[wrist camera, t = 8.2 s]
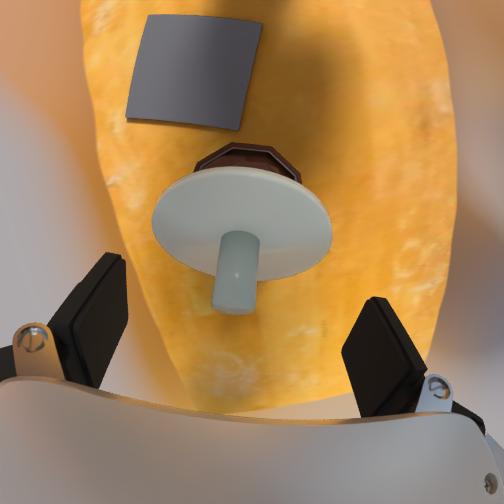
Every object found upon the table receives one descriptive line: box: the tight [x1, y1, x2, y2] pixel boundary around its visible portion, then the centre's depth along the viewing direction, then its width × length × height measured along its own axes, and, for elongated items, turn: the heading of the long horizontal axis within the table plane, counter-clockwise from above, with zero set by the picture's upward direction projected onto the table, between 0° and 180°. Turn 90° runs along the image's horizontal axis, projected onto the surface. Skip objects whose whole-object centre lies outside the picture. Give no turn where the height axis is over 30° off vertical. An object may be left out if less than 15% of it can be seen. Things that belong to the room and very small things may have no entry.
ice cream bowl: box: [193, 142, 302, 185], centre depth 27 cm, size 11×11×15 cm
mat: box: [125, 14, 263, 131], centre depth 27 cm, size 14×14×1 cm
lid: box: [152, 166, 332, 315], centre depth 20 cm, size 13×13×6 cm
